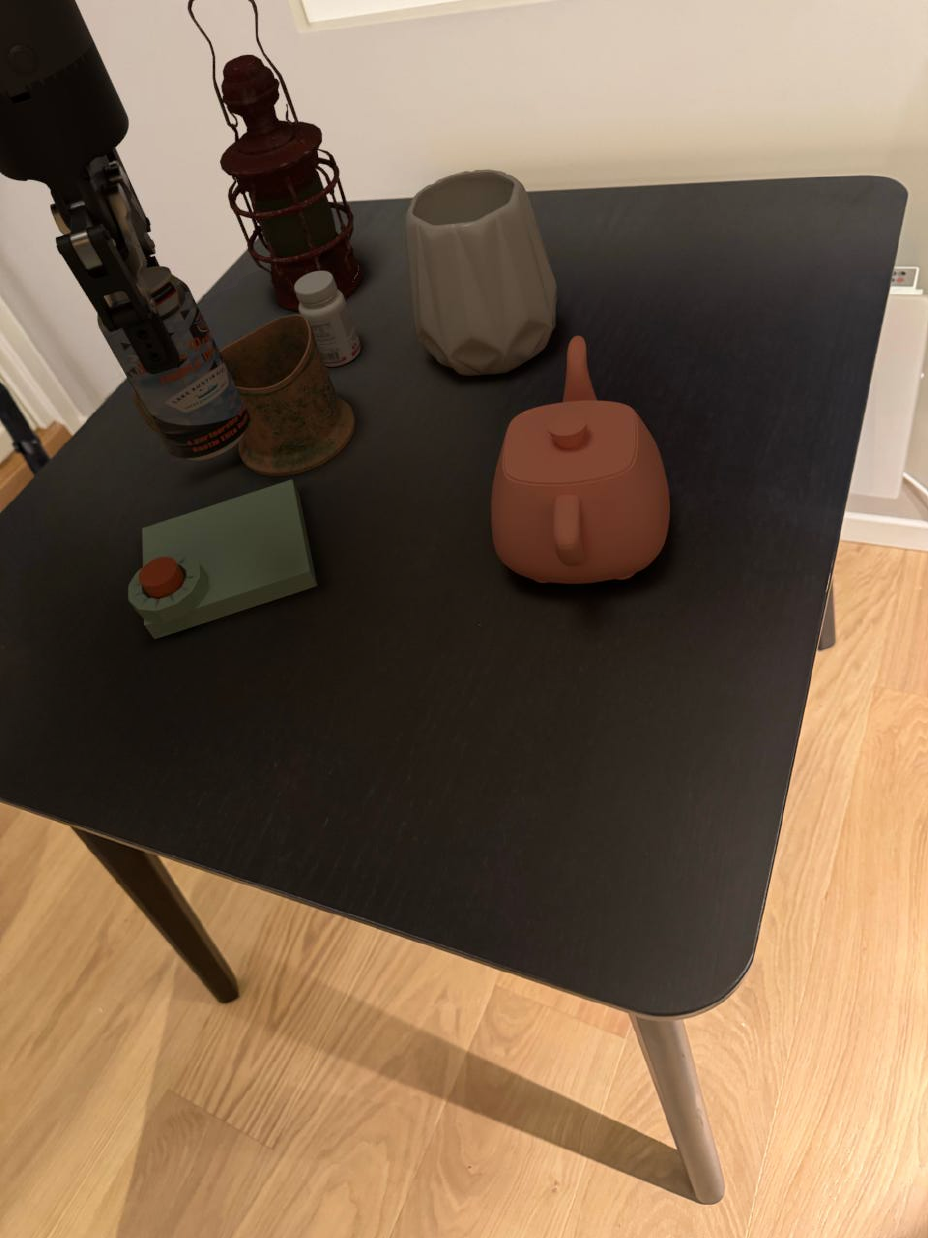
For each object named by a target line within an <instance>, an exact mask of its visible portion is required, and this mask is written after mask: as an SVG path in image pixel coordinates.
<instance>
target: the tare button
mask: <svg viewBox="0 0 928 1238" xmlns="http://www.w3.org/2000/svg"><path fill="white" fill-rule="evenodd" d="M142 567H143V566H142ZM142 567H141V568H142ZM141 568H140V569H141ZM139 582H140V583H141V585H142V586H143V588H144V589H145V590H146V592H147V593H148V595H149V596H151V597H152V598H156V599H161V598H164V597H167V596H170V595H172V594H173V593H174V592H176V591H177V590H178V589H180V588H181V587H182V585H183V583H184V574H183V572H182V571H181V569H180V568H179V566H178V565H177V563H176V561H175V560H174V559H172V558H170V557H159V558H156V559H154V560H152V561H150V562H149V563H147V564H146V565H145V566H144V567H143V568H142V569H141V571H140V573H139Z"/></svg>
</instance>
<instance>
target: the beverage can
mask: <svg viewBox="0 0 928 1238" xmlns="http://www.w3.org/2000/svg"><path fill="white" fill-rule="evenodd" d="M143 277H144V279H145V282H146V284H147V287H148V289H149V292H150V294H151V297H152V298H153V299H154V300H155V303H156V309H157V311H158V313H159V315H160V317H161V319H162V321H163V323H164V325H165V327H166V329H167V331H168V333H169V335H170V337H171V339H172V341H173V343H174V345H175V347H176V349H177V351H178V353H179V356H180V364H179V366H178V367H176V368H174V369H170V370H167V371H164V372H161V373H158V374H149V373H147V372H146V371H145V369H144V367H143V366H142V364H141V362H140V360H139V358H138V356H137V355H136V353H135V351H134V349H133V347H132V345H131V344H130V342H129V340H128V338H127V336H126V334H125V333H124V331H123V329H122V328H121V329H119V330H116V331H113V332H109V331H108V330H107V328H106V327H105V326H104V325H103V323H102V320H101V318H100V317H99V315H98V314H97V315H96V321H97V326H98V328H99V330H100V332H101V333H102V335H103V338H104V339H105V341H106V343H107V345H108V346H109V348H110V350H111V351H112V354H113V355H114V357H115V359H116V361H117V362H118V364H119V366H120V368H121V369H122V371H123V373H124V375H125V377H126V379H127V380H128V382H129V384H130V386H131V387H132V390H133V389H134V391H135V393H136V395H137V396H138V398H139V402H140V405H141V406H142V408H143V410H144V411H145V413H146V414H147V416H148V417H149V418H150V420H151V422H152V423H153V425H154V427H155V429H156V431H157V432H158V434H157V435H158V436H159V438H160V439H161V442H162V443H163V445H164V447H165V448H166V450H167V452H168V453H169V454H170V455H171V457H172V456H173V457H175V458H178V459H186V460H188V461H196V462H197V461H203V460H208V459H212V458H215V457H217V456H219V455H222V454H223V453H226V452H228V451H230V449H232V448H233V447H234V446H236V445H237V444H239V441H240V439H241V438H242V436H243V435H244V431H245V430H246V429H247V427H248V425H249V422H250V415H249V413H248V411H247V409H246V407H245V404H244V402H243V400H242V398H241V396H240V394H239V392H238V390H237V388H236V386H235V383H234V381H233V379H232V377H231V375H230V373H229V371H228V369H227V367H226V365H225V362H224V360H223V358H222V356H221V354H220V352H219V351H220V350H219V347H218V346H217V344H216V341H215V339H214V337H213V335H212V333H211V331H210V329H209V326H208V325H207V322H206V319H204V316H203V315H202V312H201V310H200V308H199V305H198V304H197V302H196V300H195V297H194V295H193V294H192V291H191V289H190V287H189V285H187V283H186V282H185V281H183V280H181V279H180V278H179V277H177V276H176V275H174V274H173V273H172V271H171V269H170V267H168V266H164V265H160V266H155V267H149V268H146V269H145V270H144V272H143ZM114 294H115V297H116V299H117V301H118V302H119V301H122V300H125V299H128V296H127V294H126V293H124V292H122V291H119V292H116V293H114Z"/></svg>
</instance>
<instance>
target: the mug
mask: <svg viewBox="0 0 928 1238" xmlns="http://www.w3.org/2000/svg"><path fill="white" fill-rule="evenodd" d="M219 352H220V354H221V356H222V358H223V360H224V362H225V365H226V367H227V369H228V371H229V373H230V375H231V377H232V379H233V381H234V383H235V386H236V388H237V390H238V392H239V394H240V396H241V398H242V400H243V402H244V404H245V407H246V409H247V411H248V413H249V415H250V422H249V425H248V427H247V429H246V430H245V431H244V435H243V436H242V438H241V439H240V441H239V442H238V453H239V456H240V458H241V460H242V463H244V465H245V466H246V467H247V468H248V469H249V470H251V471H253V472H255V473H256V474H259V475H263V476H267V477H287V476H293V475H297V474H303V473H305V472H308V471H310V470H311V471H312V470H314V469H316V468H318V467H320V466H322V465H323V464H325V463H327V462H329V461H330V460H332V459H333V458H334V457H335V456H337V455H338V454H339V453H340V452H341V451H342V450H343V449H344V448H345V447H346V446H347V445H348V443H349V442H350V440H351V438H352V436H353V435H354V432H355V428H356V416H355V414H354V411H353V409H352V406H350V404H349V403H348V402H347V401H345V400H344V399H342V398H341V397H338V396H337V391H336V390H335V386H334V384H333V382H332V380H331V376H330V374H329V371H328V367H327V366H326V365H325V363H324V361H323V358H322V356H321V353H320V351H319V348H318V345H317V342H316V340H315V338H314V332H313V330H312V327H311V326H310V324H309V322H308V320H307V319H306V318H305V317H304V316H303V315H300V313H299V314H297V313H295V314H289V315H284V316H281V317H277V318H276V319H272V320H271V321H269V322H268V323H265V324H263V325H262V326H259V327H258V328H257V329H255V330H252V331H251V332H249V333H248V334H246V335H244V336H243V337H240V338H239V339H237V340H235V341H234V342H231V343H229V344H228V345H227V346H224V347H223V348H222V349H220V350H219ZM131 394H132V399H133V402H134V404H135V406H136V408H137V410H138V412H139V414H140V415H141V418H142V419H143V420H144V422H145V423H146V425H148V427H149V428H150V429H152V430H153V432H154V433H156V434H157V435H159V434H158V432H157V431H156V429H155V427H154V425H153V423H152V422H151V420H150V418H149V416H148V414H147V413H146V411H145V409H144V407H143V405H142V404H141V402H140V400H139V398H138V396H137V395H136V393H135V391H134V389H133V388H132V393H131Z"/></svg>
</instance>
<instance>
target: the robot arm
mask: <svg viewBox="0 0 928 1238" xmlns="http://www.w3.org/2000/svg"><path fill="white" fill-rule="evenodd" d="M129 127H130V119H129V116H128V113H127V111H126V109H125V107H124V104H123V103H122V99H121V98H120V96H119V93H118V91H117V90H116V87H115V85H114V83H113V80H112V78H111V76H110V74H109V72H108V69H107V67H106V65H105V63H104V61H103V59H102V56H101V54H100V52H99V50H98V47H97V45H96V43H95V40H94V38H93V36H92V33H91V32H90V29H89V27H88V25H87V23H86V21H85V19H84V17H83V15H82V12H81V9H80V7H79V5H78V3H77V1H76V0H0V174H1V175H2V176H4V177H6V178H8V179H10V180H13V181H19V182H27V181H35V182H38V183H42V184H45V185H46V186H47V188H48V189H49V191H50V195H51V198H52V199H53V202H54V203H51V204H50V205H49V208H50V213H51V214H52V218H53V220H54V221H55V225H56V226H57V229H58V231H59V233H60V234H62V235H59V236H56V237H55V245H56V246H55V247H56V249H57V252H58V254H59V255H61V257H62V258H63V260H64V262H65V264H66V265H67V266H68V267H67V268H68V269H69V270H70V272H71V273H72V275H73V276H74V278H75V280H76V281H77V284H79V286H80V288H81V289H82V291H83V293H84V294H85V296H86V297H87V299H88V301H89V302H90V304H91V305H92V307H93V308H94V310H95V312H96V313H97V314H98V315H99V317H100V318H101V320H102V323H103V325H104V326H105V327H106V328H107V330H108V331H109V332H113V331H116V330H119V329H121V328H122V329H123V331H124V333H125V334H126V336H127V338H128V340H129V342H130V344H131V345H132V347H133V349H134V351H135V353H136V355H137V356H138V358H139V360H140V362H141V364H142V366H143V367H144V369H145V371H146V372H147V373H149V374H158V373H161V372H164V371H167V370H170V369H174V368H176V367H178V366H179V364H180V356H179V353H178V351H177V349H176V347H175V345H174V343H173V341H172V339H171V337H170V335H169V333H168V331H167V329H166V327H165V325H164V323H163V321H162V319H161V317H160V315H159V313H158V311H157V309H156V303H155V300H154V299H153V298H152V297H151V294H150V292H149V289H148V287H147V284H146V282H145V279H144V277H143V272H144V270H145V269H146V268H149V267H155V266H161V265H160V263H159V260H158V259H157V257H156V244H155V241H154V240H153V239H152V238H151V236H150V234H149V233H151V232H152V228H151V226H152V224H151V221H150V219H149V217H147V215H146V213H145V210H144V208H143V206H142V204H141V202H140V199H139V197H138V195H137V193H136V191H135V188H134V186H133V184H132V182H131V179H130V177H129V175H128V173H127V171H126V168H125V166H124V164H123V161H122V159H121V157H120V155H119V152H118V150H117V147H118V146H119V145H120V144H121V143H122V142H123V140H124V139H125V138H126V135H127V134H128V131H129ZM119 291H122V292H124V293H126V294H127V296H128V299H125V300H122V301H119V302H118V301H117V299H116V297H115V294H114V293H116V292H119Z"/></svg>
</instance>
